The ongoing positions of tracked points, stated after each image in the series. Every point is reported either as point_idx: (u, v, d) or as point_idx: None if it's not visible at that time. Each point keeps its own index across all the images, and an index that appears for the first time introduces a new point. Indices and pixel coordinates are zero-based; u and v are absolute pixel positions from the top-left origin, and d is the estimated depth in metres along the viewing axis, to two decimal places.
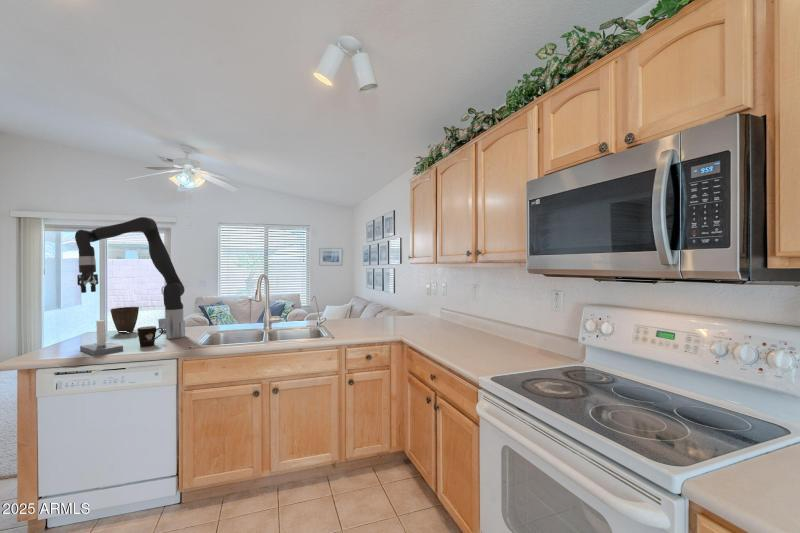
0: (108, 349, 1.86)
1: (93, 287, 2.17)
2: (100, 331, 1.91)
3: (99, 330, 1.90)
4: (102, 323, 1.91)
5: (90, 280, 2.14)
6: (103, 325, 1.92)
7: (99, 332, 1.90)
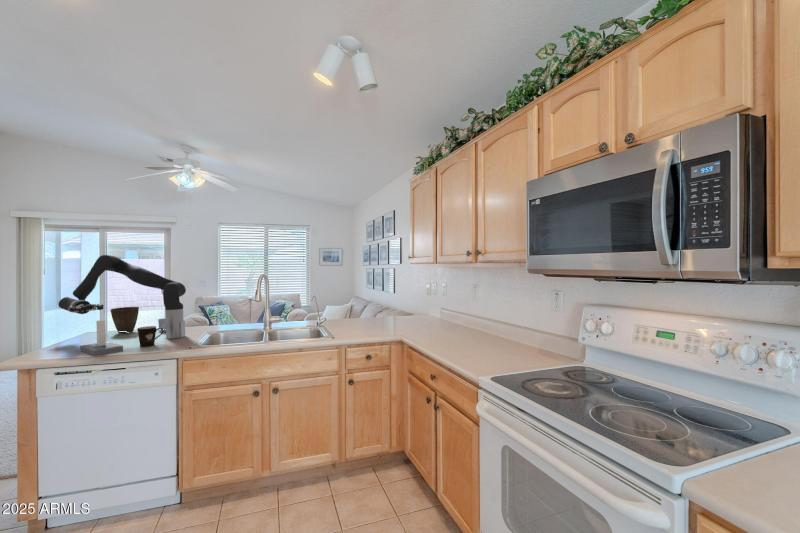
0: (108, 349, 1.86)
1: (98, 307, 2.04)
2: (100, 331, 1.91)
3: (99, 330, 1.90)
4: (102, 323, 1.91)
5: (86, 306, 2.03)
6: (103, 325, 1.92)
7: (99, 332, 1.90)
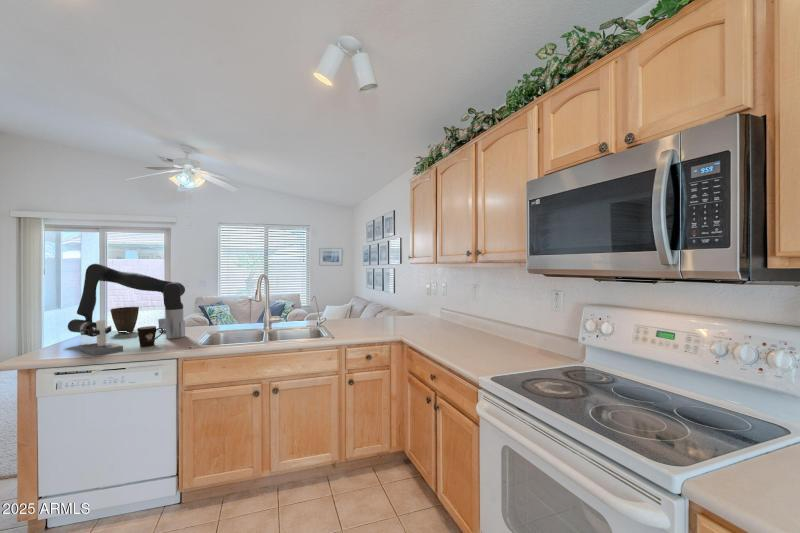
0: (108, 349, 1.86)
1: None
2: (100, 331, 1.91)
3: None
4: (102, 323, 1.91)
5: None
6: (103, 325, 1.92)
7: None
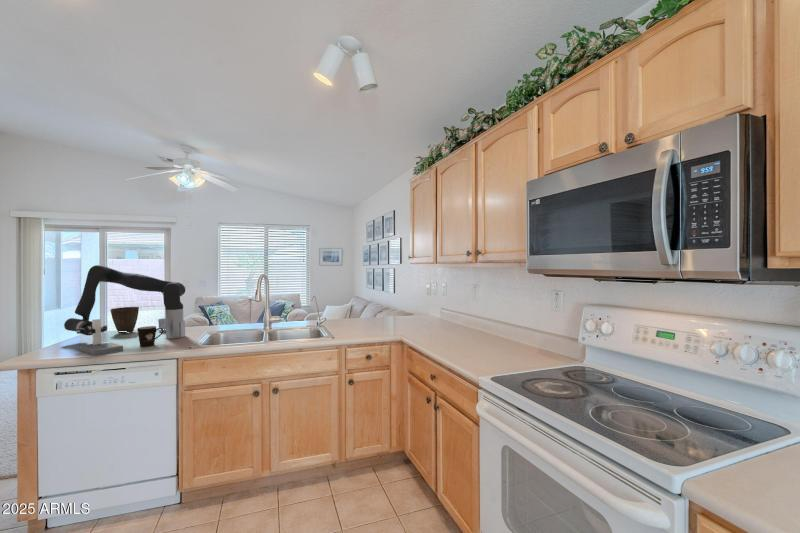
0: (108, 349, 1.86)
1: None
2: (96, 330, 1.94)
3: (95, 329, 1.94)
4: (97, 322, 1.95)
5: None
6: (99, 324, 1.95)
7: (95, 331, 1.94)
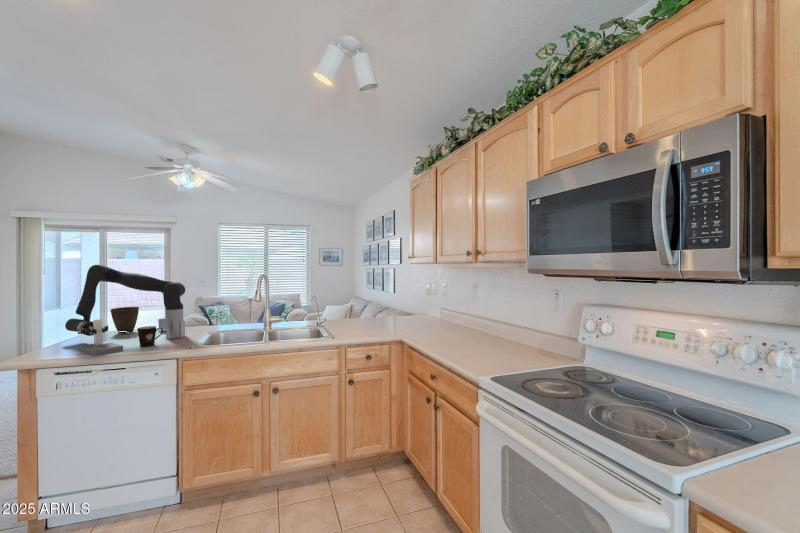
0: (108, 349, 1.86)
1: None
2: (97, 330, 1.93)
3: (96, 329, 1.93)
4: (99, 323, 1.94)
5: None
6: (100, 324, 1.94)
7: None
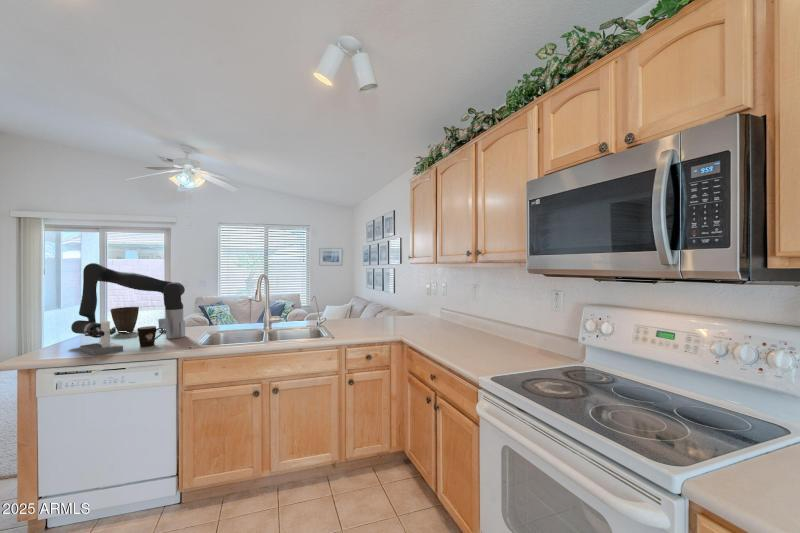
0: (108, 349, 1.86)
1: None
2: (104, 332, 1.87)
3: None
4: (106, 324, 1.88)
5: None
6: (107, 326, 1.88)
7: None
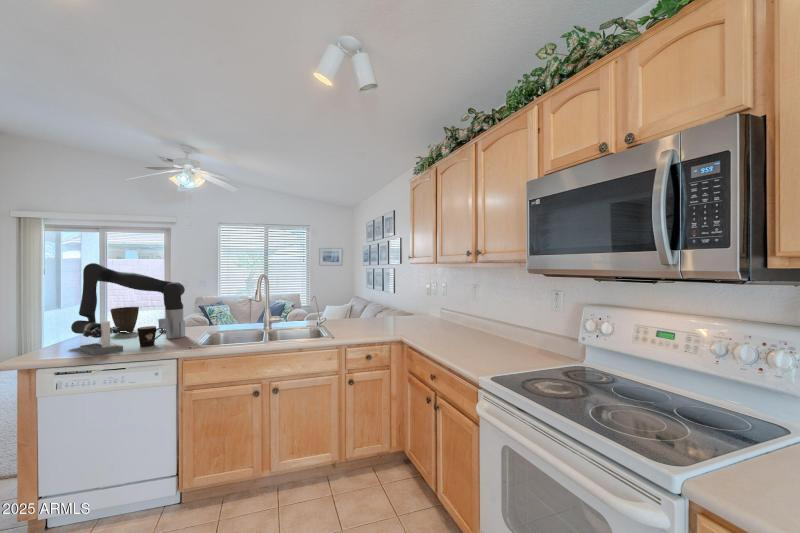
0: (108, 349, 1.86)
1: (114, 330, 1.92)
2: (105, 332, 1.87)
3: (104, 331, 1.87)
4: (106, 324, 1.88)
5: None
6: (108, 326, 1.88)
7: (104, 333, 1.87)
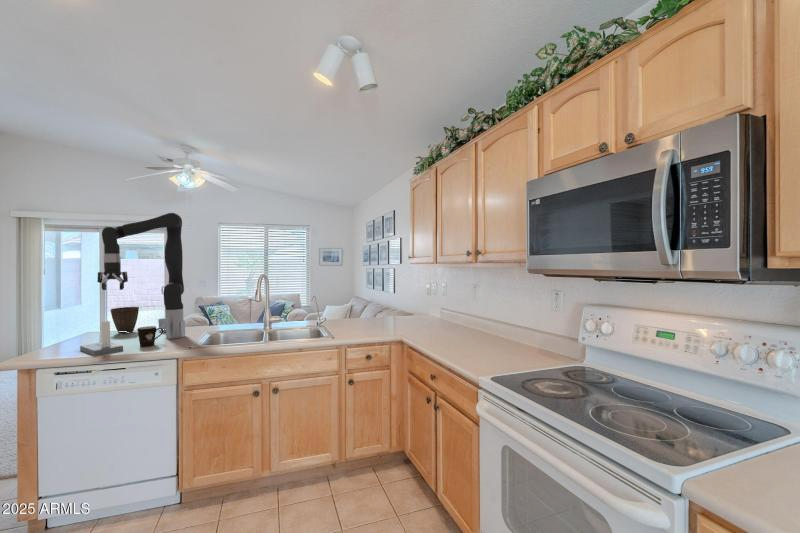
0: (108, 349, 1.86)
1: None
2: (105, 332, 1.87)
3: (104, 331, 1.87)
4: (106, 324, 1.88)
5: (112, 278, 2.11)
6: (108, 326, 1.88)
7: (104, 333, 1.87)
